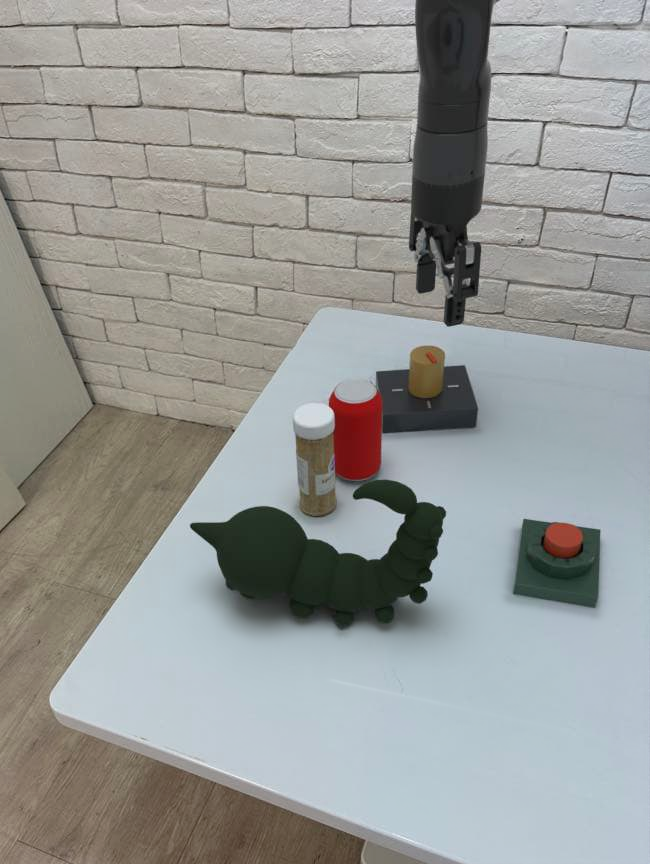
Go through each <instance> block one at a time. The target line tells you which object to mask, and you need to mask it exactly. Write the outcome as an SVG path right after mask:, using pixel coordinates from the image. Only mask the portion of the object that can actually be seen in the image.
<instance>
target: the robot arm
mask: <svg viewBox="0 0 650 864" xmlns="http://www.w3.org/2000/svg"><path fill="white" fill-rule="evenodd" d="M500 1H501V0H415V4H414V25H415V26H414V27H415V38H416V39H415V40H416V41H415V42H416V51H417V52H416V53H417V61H418V68H419V69H418V70H419V82H418V92H417V109H416V110H417V113H416V128H415V129H416V130H415V135H414V141H413V150H412V172H411V173H412V174H411V197H410V222H409V224H410V225H409V235H408V249H409V251H410V252H414V254H413V260H414V262H415V263H416V277H415V290H416V292H417V293H418V294H420V295H421V294H426V293H431V292H433V291H434V290H435V289H436V276H437V277H438V278H439V279H441V280H443V286H444V291H445V296H444V297H445V298H444V309H443V324H445V326H446V327H447V328H449V327H455V326H459V325H462V324H463V323H464V321H465V313H466V304H467V299H469V298H474V297H477V296H478V295H479V286H480V284H479V283H480V273H481V259H482V244H481V242H479V241H476V242H472V243H470V242H469V236H468V224H469V223H470V222H471V221H472V220H473V219H474V218H476V217H477V216H478V215H479V213H481V210H482V206H483V194H484V187H485V186H484V185H485V175H486V168H487V167H486V166H487V157H488V146H489V141H488V140H489V135H488V125H489V124H488V123H489V121H488V119H489V110H490V100H491V91H492V67H491V66H492V65H491V63H490V61H489V59H488V57H489V48H490V47H489V46H490V38H491V37H490V35H491V25H492V18H493V12H494V11H493V10H494V5H496V4H498V2H500ZM418 235H419V236H418ZM452 264H453V267H447V266H448V265H452ZM452 277H453V278H452ZM452 279H453V280H452Z"/></svg>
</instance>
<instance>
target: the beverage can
mask: <svg viewBox="0 0 650 864" xmlns="http://www.w3.org/2000/svg"><path fill="white" fill-rule="evenodd" d="M328 406H329V407H330V408H331V409H332V410H333V412H334V418H335V428H334V431H333V443H334V457H335V475H337V476H338V477H340V478H341V479H343V480H346V481H352V482H359V481H360V482H361V481H365V480H368V479H370V478H373V477H374V476H376V475H377V473H378V472H379V471H380V468H381V465H382V441H383V438H382V437H383V435H382V434H383V433H382V397H381V394H380V393H379V391H378V390H377V388H376V384H374V383H372V382H371V381H368V380H365V379H361V378H352V379H347V380H344V381H341V382H340V383H339V384H336V386H335V388H334V389H333V390H332V392H331V394H330V396H329V399H328Z"/></svg>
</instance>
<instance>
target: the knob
mask: <svg viewBox="0 0 650 864" xmlns="http://www.w3.org/2000/svg"><path fill="white" fill-rule="evenodd" d="M445 362H446V353H445V351H444V350H443V349H442V348H440V347H438V346H435V345H429V344H428V345H426V344H425V345H420V346H417V347H415V348H413V349H412V350H411V351H410V353H409V364H408V365H409V367H408V369H409V383H408V390H409V392H410V393H411V394H412V395H414V396H416V397H419V398H432V397H435V396H437V395H439V394H440V393H441V391H442V387H443V375H444V366H445V364H446V363H445Z"/></svg>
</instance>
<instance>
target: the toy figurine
mask: <svg viewBox="0 0 650 864" xmlns="http://www.w3.org/2000/svg"><path fill="white" fill-rule="evenodd" d="M352 498H353V499H354V500H356V501H358V500H363V499H364V500H365V499H366V500H370V501H375V502H377V503H379V504H382V505H383V506H385V507H387V508H388V509H390V510H391V511H393V512H394V513H397V514H400V515H404V517H403V519H404V522H402V523H400V525H399V526H398V529H397V531H396V534H395V535H396V537H395V538H396V539H394V541H393V542H392V543H391V544H390V545H389V548H388V550H387V553H385V554H384V555H383V556H382V557H380V559H379V558H372V559H371V558H370V559H367V558H366V557H364V556H362V555H360V554H356V553H352V552H341V553H339V551H338V550H337V549H336V548H335V547H334V546H333V545H331V543H329V542H326V541H324V540H321V539H317V538H308V537H307V534H306V531H305V530H304V529H303V526H302V525H301V524H300V523H299V522H298V521H297V520H296V518H294V517H293V516H292V515H291V514H289V513H288V512H286V511H284V510H282V509H280V508H277V507H274V506H270V505H259V506H252V507H249V508H245V509H242V510H241V511H239V512H237V513H235V514H234V515H232V517H231V518H229V519H228V520H226V521H222V522H219V521H217V522H215V521H214V522H213V521H212V522H210V521H209V522H205V521H204V522H203V521H202V522H200V521H199V522H198V521H197V522H192V523H190V524H189V528H190V530H192V531H193V532H194V533H195V534H197V536H199V537H200V538H201V539H202V540H203V541H205V542H206V543H207V544H209V545H210V546H211V547H213V549H214V550H215V552H216V560H217V564H218V567H219V569H220V572H221V574H222V576H223V579H225V586H226V589H228V590H230V591H237V592H238V593H239V594H240V596H241V597H243V598H245V599H248V600H249V599H251V600H253V599H255V598H259V599H260V598H261V599H266V598H267V599H268V598H273V597H277V596H281V595H283V594H286V595H287V596H288V597H289V598H291V599H290V601H289V608H290V611H291V614H292V615H293V616H294V617H296V618H298V619H307V618H308V617H309V616H311V615H312V614H313V613H314V611H315V608H316V606H317V605H322V604H326V606H328V607H329V608H331V609H333V610H334V611H335V612H334V613H333V619H334V622H335V623H336V624H337V625H339V626H341V627H343V628H344V627H347V626H351V624H352V623H353V621H354V616H355V614H354V613H356V612H359V611H362V610H363V609H365V608H367V609H371V610H374V617H375V620H376V621H377V622H378V623H381V624H390V623H391V622H392V621H393V620H394V619H395V615H396V612H395V607H394V606H393V604H394V603H395V602H397V600H398V599H400V598H401V599H402V598H405V597H408V596H409V599H410V600H411V601H412V602H413V603H414V604H418V605H421V604H423V603H424V602H425V601H427V598H428V596H429V594H428V590H427V589H426V588H425V587H424V586H422V584H423V585H424V584H427V583H429V582H431V581H432V580H433V575H434V572H433V571H432V570H431V569H430V568H431V565H432V563H433V561H434V560H436V558H437V557H438V555H439V550H438V546H439V543H440V538H441V537H442V535H443V534H444V529H443V525H444V519H445V518H446V516H447V511H446V509H445V508H444V507H443V506H441V505H437V506H436V505H435V504H433V503H431V502H429V501H428V502H426V501H419V502H418V498H417V495H416V493H415V491H414V490H413V489H412V488H411V487H409V486H408V485H406V484H405V483H402V482H399V481H397V480H392V479H375V480H370V481H367V482H365V483H363V484H361V485H360V486H359V487H357V488H356V489H355V490H354V491H353V492H352Z"/></svg>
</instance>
